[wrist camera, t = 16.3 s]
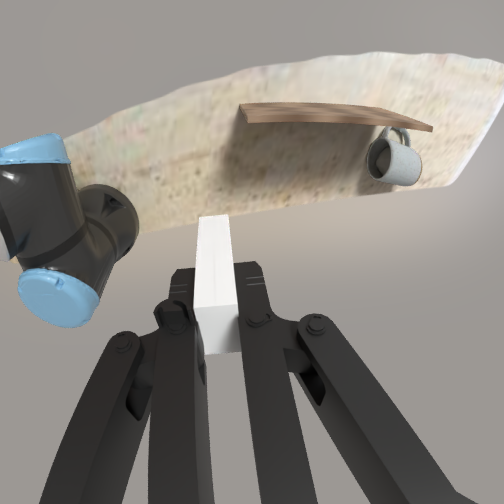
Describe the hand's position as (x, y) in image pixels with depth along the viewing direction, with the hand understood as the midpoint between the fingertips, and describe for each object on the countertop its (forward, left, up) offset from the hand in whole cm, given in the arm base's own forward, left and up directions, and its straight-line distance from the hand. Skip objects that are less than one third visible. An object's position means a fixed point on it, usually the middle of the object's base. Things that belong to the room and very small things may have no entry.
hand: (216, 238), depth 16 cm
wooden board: (+15, +4, -33) cm, 36 cm away
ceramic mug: (+29, -4, -33) cm, 44 cm away
